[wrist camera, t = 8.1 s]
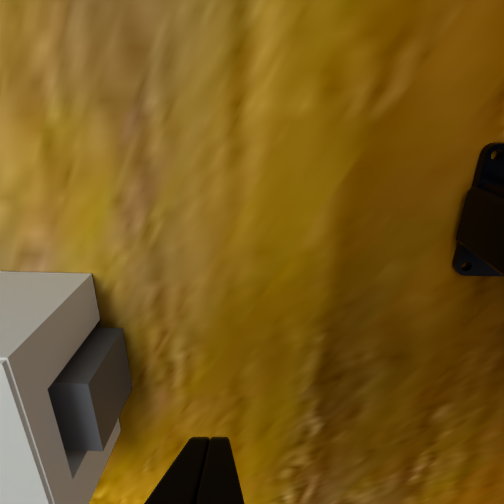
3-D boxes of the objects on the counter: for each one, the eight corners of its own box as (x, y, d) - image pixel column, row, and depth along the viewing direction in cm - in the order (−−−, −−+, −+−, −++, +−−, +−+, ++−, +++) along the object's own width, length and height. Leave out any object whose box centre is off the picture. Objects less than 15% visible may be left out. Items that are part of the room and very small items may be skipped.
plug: (123, 327, 21) (88, 383, 17) (132, 386, 23) (103, 451, 19) (21, 324, 22) (-39, 379, 17) (38, 383, 23) (-12, 446, 19)
